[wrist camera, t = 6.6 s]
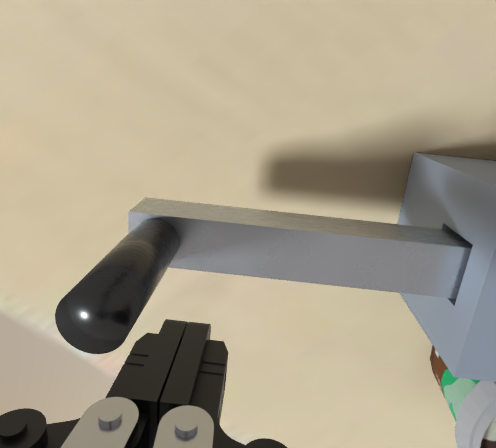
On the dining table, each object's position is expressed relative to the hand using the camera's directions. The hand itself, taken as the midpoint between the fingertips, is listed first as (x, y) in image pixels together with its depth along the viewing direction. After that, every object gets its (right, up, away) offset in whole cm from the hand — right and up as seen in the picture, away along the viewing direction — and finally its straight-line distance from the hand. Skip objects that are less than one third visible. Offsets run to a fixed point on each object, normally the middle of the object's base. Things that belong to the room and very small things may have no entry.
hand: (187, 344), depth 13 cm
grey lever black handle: (+8, +3, +11) cm, 14 cm away
